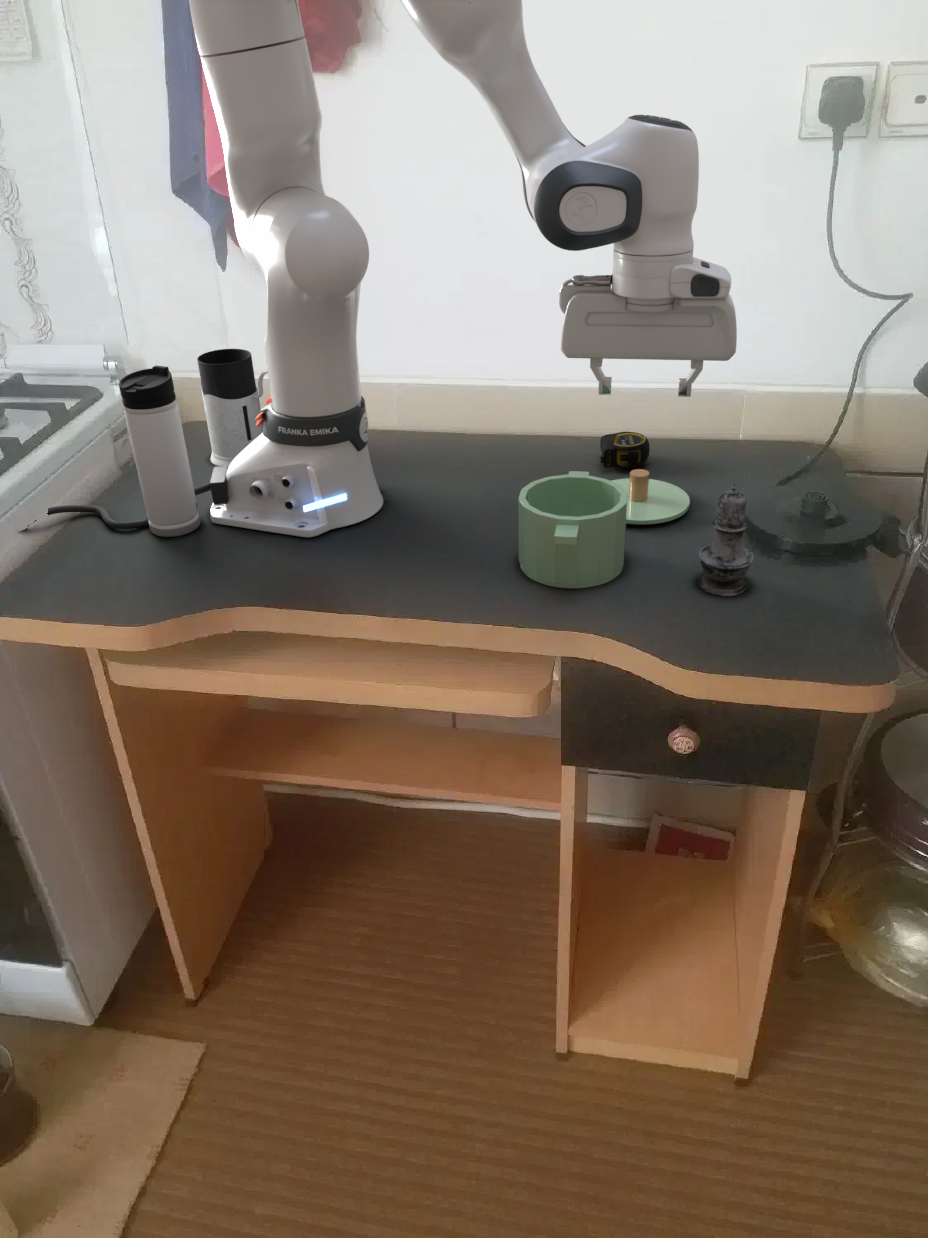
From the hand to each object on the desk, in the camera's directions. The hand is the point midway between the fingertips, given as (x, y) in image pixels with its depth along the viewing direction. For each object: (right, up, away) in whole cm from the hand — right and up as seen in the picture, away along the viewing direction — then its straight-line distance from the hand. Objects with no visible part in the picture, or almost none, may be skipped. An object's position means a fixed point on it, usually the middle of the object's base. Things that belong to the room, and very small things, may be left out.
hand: (644, 394), depth 119 cm
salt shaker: (+7, -23, -10) cm, 26 cm away
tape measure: (0, -5, +20) cm, 21 cm away
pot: (-9, -21, -4) cm, 23 cm away
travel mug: (-59, -15, +8) cm, 61 cm away
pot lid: (+1, -12, +8) cm, 14 cm away
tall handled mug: (-53, -4, +27) cm, 59 cm away
